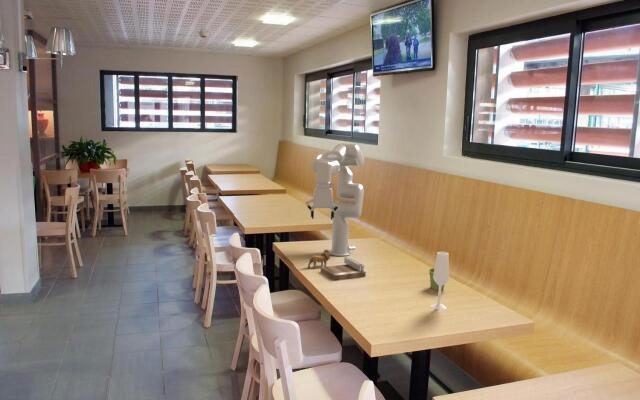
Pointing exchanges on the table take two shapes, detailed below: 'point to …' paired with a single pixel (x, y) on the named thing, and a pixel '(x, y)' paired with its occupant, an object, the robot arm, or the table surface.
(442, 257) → the champagne flute
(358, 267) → the folding leg
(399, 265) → the table surface
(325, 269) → the stool seat
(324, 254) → the lion figurine
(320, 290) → the table surface
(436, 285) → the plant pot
